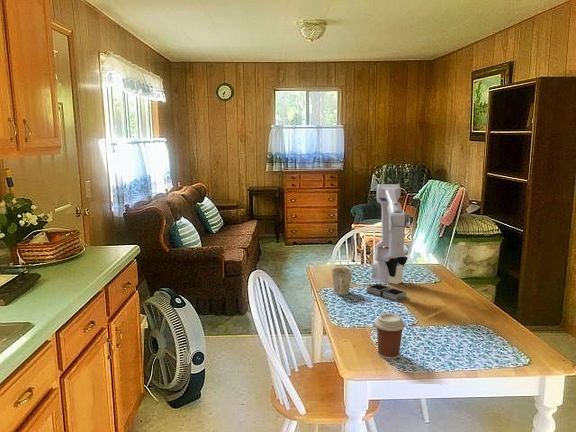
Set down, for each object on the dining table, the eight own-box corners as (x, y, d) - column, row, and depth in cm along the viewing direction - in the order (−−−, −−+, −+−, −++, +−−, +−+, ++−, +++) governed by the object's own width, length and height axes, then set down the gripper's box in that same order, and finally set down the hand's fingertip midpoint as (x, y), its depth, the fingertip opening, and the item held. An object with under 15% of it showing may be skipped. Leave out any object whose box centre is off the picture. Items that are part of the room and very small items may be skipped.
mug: (351, 290, 207) (351, 268, 205) (352, 300, 195) (352, 277, 193) (331, 289, 208) (331, 267, 206) (331, 300, 195) (331, 276, 194)
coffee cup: (399, 347, 154) (400, 311, 151) (407, 361, 145) (408, 323, 143) (370, 347, 153) (371, 312, 151) (376, 361, 144) (378, 323, 142)
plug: (388, 281, 196) (388, 263, 195) (393, 279, 199) (394, 261, 197) (396, 284, 193) (397, 265, 192) (402, 281, 196) (403, 263, 195)
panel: (365, 293, 203) (365, 287, 202) (377, 289, 209) (377, 282, 208) (395, 303, 192) (395, 296, 191) (407, 298, 198) (408, 291, 197)
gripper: (394, 247, 185) (393, 281, 188) (415, 241, 195) (413, 273, 198) (379, 244, 191) (378, 277, 193) (400, 238, 200) (399, 269, 203)
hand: (395, 275), depth 196 cm, fingers closed on plug, 4 cm apart
